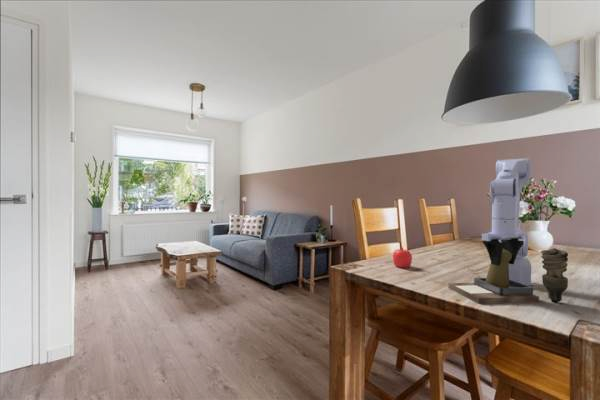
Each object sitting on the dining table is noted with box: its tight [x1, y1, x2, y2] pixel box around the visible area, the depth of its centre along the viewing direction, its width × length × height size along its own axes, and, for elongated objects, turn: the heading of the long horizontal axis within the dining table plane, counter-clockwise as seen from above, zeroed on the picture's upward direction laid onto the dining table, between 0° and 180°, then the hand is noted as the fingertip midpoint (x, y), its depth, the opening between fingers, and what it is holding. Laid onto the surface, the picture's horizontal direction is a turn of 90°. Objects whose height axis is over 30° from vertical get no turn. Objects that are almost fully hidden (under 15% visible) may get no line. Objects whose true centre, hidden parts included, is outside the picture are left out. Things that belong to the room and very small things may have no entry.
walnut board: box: [447, 282, 540, 305], centre depth 82 cm, size 18×13×2 cm
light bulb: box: [540, 247, 569, 304], centre depth 77 cm, size 6×6×15 cm
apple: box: [392, 247, 413, 269], centre depth 115 cm, size 8×8×8 cm
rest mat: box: [456, 285, 494, 294], centre depth 82 cm, size 7×7×1 cm
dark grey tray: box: [473, 277, 534, 296], centre depth 83 cm, size 10×10×2 cm
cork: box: [485, 249, 512, 288], centre depth 84 cm, size 6×6×11 cm
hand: (502, 264), depth 83 cm, fingers closed on cork, 5 cm apart
